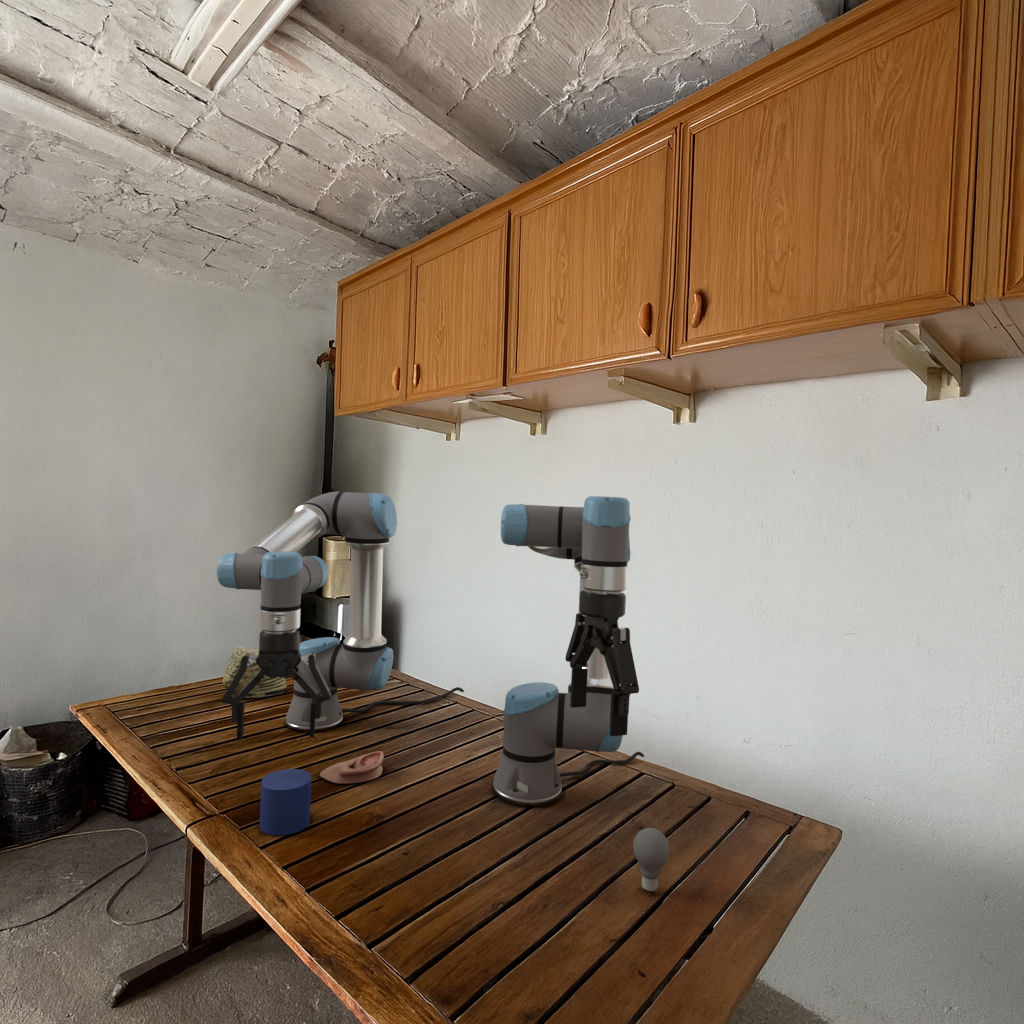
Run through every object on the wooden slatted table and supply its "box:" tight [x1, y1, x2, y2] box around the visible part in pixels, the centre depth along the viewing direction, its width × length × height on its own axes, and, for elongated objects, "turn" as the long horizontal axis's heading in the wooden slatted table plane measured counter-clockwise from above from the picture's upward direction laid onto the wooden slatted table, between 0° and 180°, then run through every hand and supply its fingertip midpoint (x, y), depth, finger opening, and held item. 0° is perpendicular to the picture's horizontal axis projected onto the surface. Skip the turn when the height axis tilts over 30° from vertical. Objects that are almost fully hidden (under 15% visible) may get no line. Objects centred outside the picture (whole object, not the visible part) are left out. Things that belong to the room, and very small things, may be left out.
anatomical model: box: [319, 750, 385, 785], centre depth 145 cm, size 13×4×12 cm
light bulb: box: [632, 827, 671, 892], centre depth 106 cm, size 6×6×10 cm
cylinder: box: [259, 768, 312, 837], centre depth 122 cm, size 9×9×9 cm
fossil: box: [222, 646, 288, 699], centre depth 198 cm, size 9×18×15 cm, turn 132°
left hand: (276, 736), depth 126 cm, fingers open, 13 cm apart
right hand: (596, 720), depth 104 cm, fingers open, 13 cm apart
